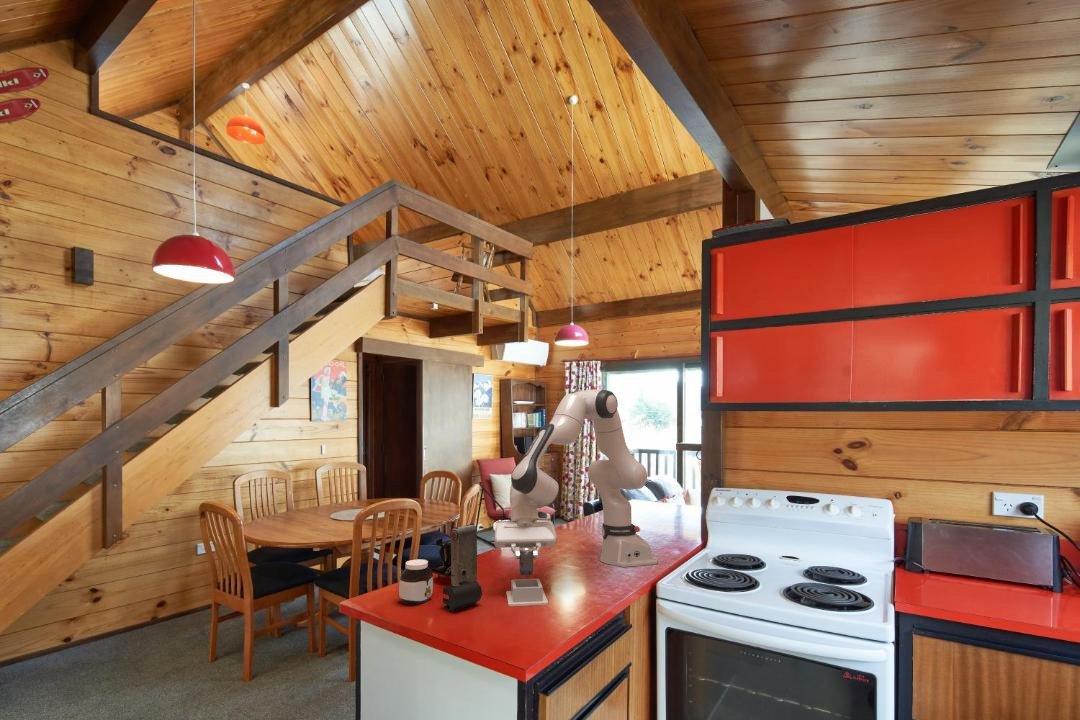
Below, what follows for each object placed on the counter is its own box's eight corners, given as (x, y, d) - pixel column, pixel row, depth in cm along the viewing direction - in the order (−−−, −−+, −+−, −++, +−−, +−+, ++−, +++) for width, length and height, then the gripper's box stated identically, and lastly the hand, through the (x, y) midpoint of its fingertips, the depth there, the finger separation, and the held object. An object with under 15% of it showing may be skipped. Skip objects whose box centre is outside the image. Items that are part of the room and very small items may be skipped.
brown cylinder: (532, 571, 172) (532, 545, 173) (534, 575, 168) (534, 549, 169) (518, 571, 172) (518, 545, 173) (519, 576, 167) (520, 549, 168)
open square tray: (543, 591, 176) (543, 577, 176) (548, 604, 164) (548, 588, 164) (506, 593, 174) (506, 578, 175) (508, 606, 163) (508, 590, 163)
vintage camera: (446, 576, 194) (445, 519, 196) (478, 582, 185) (477, 523, 187) (426, 583, 186) (425, 524, 188) (458, 590, 177) (457, 528, 179)
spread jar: (412, 608, 161) (413, 568, 162) (386, 601, 167) (387, 562, 168) (440, 596, 171) (441, 559, 172) (415, 590, 177) (416, 553, 178)
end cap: (456, 615, 156) (456, 590, 156) (441, 609, 161) (441, 585, 161) (482, 606, 163) (482, 582, 164) (467, 600, 168) (467, 577, 169)
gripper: (493, 514, 177) (493, 553, 166) (554, 513, 180) (559, 551, 169) (492, 525, 181) (493, 564, 170) (552, 524, 184) (557, 562, 173)
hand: (526, 557), depth 170 cm, fingers closed on brown cylinder, 4 cm apart
